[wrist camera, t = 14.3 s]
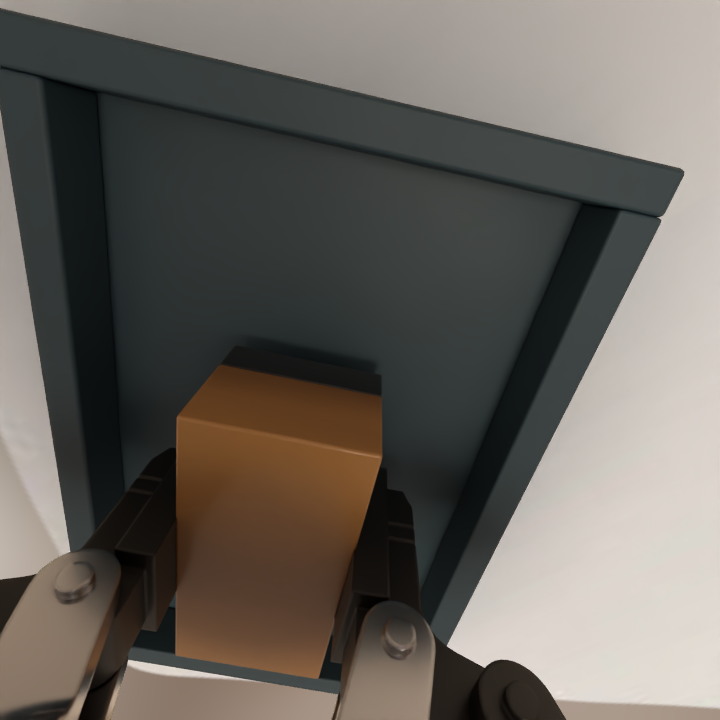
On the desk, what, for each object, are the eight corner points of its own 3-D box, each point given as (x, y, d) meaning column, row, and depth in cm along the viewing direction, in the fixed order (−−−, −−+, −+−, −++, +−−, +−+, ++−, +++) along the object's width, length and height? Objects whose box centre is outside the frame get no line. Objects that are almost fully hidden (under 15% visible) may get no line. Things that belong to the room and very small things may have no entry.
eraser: (234, 344, 9) (174, 416, 7) (382, 374, 9) (383, 456, 7) (219, 549, 12) (174, 656, 10) (331, 569, 12) (318, 680, 10)
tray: (74, 41, 8) (-20, 2, 6) (621, 170, 9) (689, 169, 7) (121, 594, 16) (85, 653, 14) (411, 644, 16) (416, 708, 14)
